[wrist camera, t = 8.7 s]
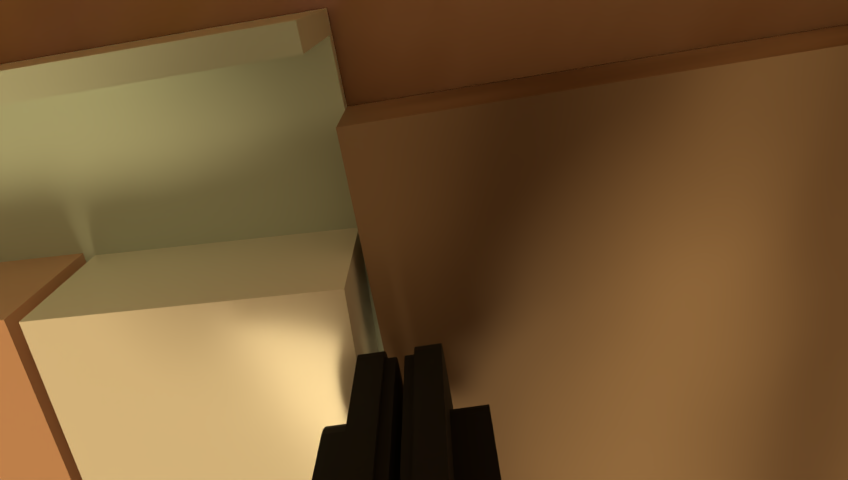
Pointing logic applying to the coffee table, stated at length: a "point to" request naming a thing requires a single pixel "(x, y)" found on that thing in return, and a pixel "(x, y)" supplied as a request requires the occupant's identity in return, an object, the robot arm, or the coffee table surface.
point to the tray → (175, 142)
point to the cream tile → (205, 356)
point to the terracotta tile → (30, 376)
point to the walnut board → (626, 258)
